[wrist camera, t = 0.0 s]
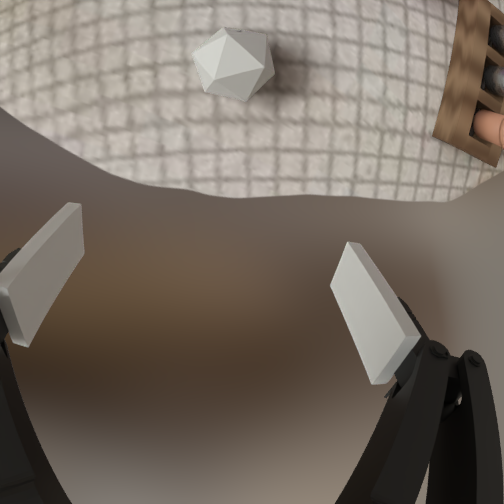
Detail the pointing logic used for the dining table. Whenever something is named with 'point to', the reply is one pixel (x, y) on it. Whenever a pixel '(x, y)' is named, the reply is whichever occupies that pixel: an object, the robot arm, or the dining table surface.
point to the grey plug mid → (494, 79)
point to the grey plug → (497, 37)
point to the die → (234, 63)
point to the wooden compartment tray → (470, 81)
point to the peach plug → (489, 126)
